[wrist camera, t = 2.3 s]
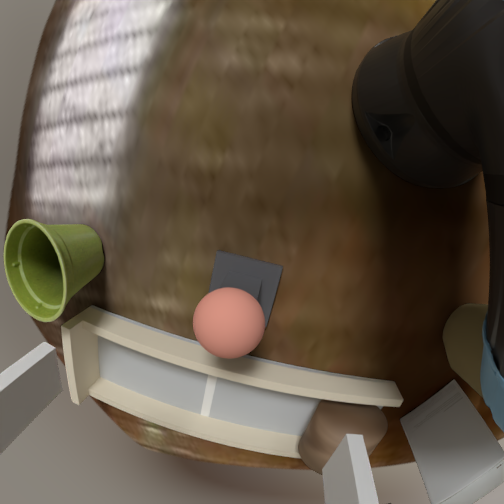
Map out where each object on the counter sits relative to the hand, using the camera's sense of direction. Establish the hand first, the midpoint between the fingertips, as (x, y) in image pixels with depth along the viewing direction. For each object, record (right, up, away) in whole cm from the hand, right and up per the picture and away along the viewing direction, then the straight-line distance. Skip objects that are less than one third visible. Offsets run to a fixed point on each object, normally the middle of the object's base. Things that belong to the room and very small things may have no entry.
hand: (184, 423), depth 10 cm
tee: (+2, +4, +17) cm, 18 cm away
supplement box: (+27, -15, +18) cm, 36 cm away
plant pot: (-16, +7, +18) cm, 25 cm away
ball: (+1, +2, +10) cm, 10 cm away
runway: (0, -8, +20) cm, 21 cm away
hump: (+13, -12, +19) cm, 26 cm away
